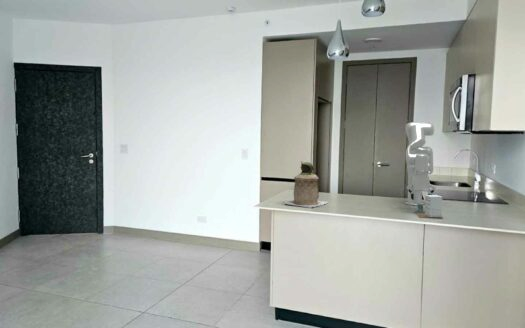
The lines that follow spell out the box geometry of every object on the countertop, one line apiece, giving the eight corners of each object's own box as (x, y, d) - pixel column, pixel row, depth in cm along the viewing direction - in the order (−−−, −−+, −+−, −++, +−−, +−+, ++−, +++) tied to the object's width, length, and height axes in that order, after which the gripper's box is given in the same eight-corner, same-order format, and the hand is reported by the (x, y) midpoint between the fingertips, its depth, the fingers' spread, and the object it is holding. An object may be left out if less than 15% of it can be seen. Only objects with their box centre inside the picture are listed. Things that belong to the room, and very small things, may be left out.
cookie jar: (312, 208, 256) (312, 162, 254) (282, 205, 271) (282, 161, 269) (328, 203, 276) (329, 160, 273) (300, 200, 291) (300, 159, 288)
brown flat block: (415, 212, 242) (415, 203, 242) (437, 213, 239) (437, 204, 238) (419, 217, 226) (419, 208, 226) (442, 218, 222) (442, 209, 222)
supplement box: (435, 214, 232) (436, 194, 231) (442, 217, 225) (442, 196, 224) (424, 214, 232) (424, 194, 231) (430, 217, 224) (430, 196, 224)
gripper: (434, 173, 239) (434, 199, 239) (406, 172, 243) (405, 198, 244) (437, 174, 232) (436, 201, 232) (407, 173, 236) (407, 200, 237)
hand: (420, 200), depth 238 cm, fingers open, 9 cm apart
